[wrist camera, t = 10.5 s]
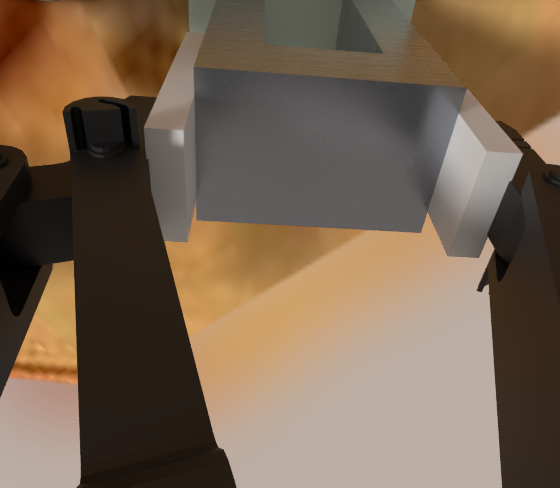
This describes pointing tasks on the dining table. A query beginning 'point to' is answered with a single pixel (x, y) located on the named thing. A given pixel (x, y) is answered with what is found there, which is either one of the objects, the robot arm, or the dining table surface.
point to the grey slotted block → (321, 121)
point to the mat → (292, 21)
